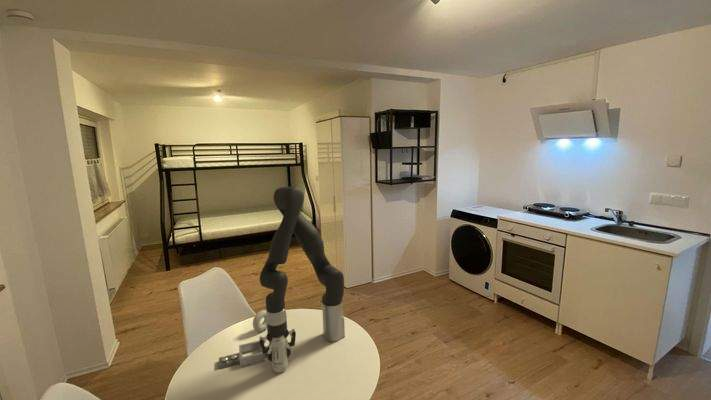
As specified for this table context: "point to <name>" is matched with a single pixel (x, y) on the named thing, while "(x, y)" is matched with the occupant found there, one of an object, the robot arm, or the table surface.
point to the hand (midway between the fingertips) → (279, 358)
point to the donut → (257, 320)
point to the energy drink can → (279, 354)
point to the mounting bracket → (242, 360)
